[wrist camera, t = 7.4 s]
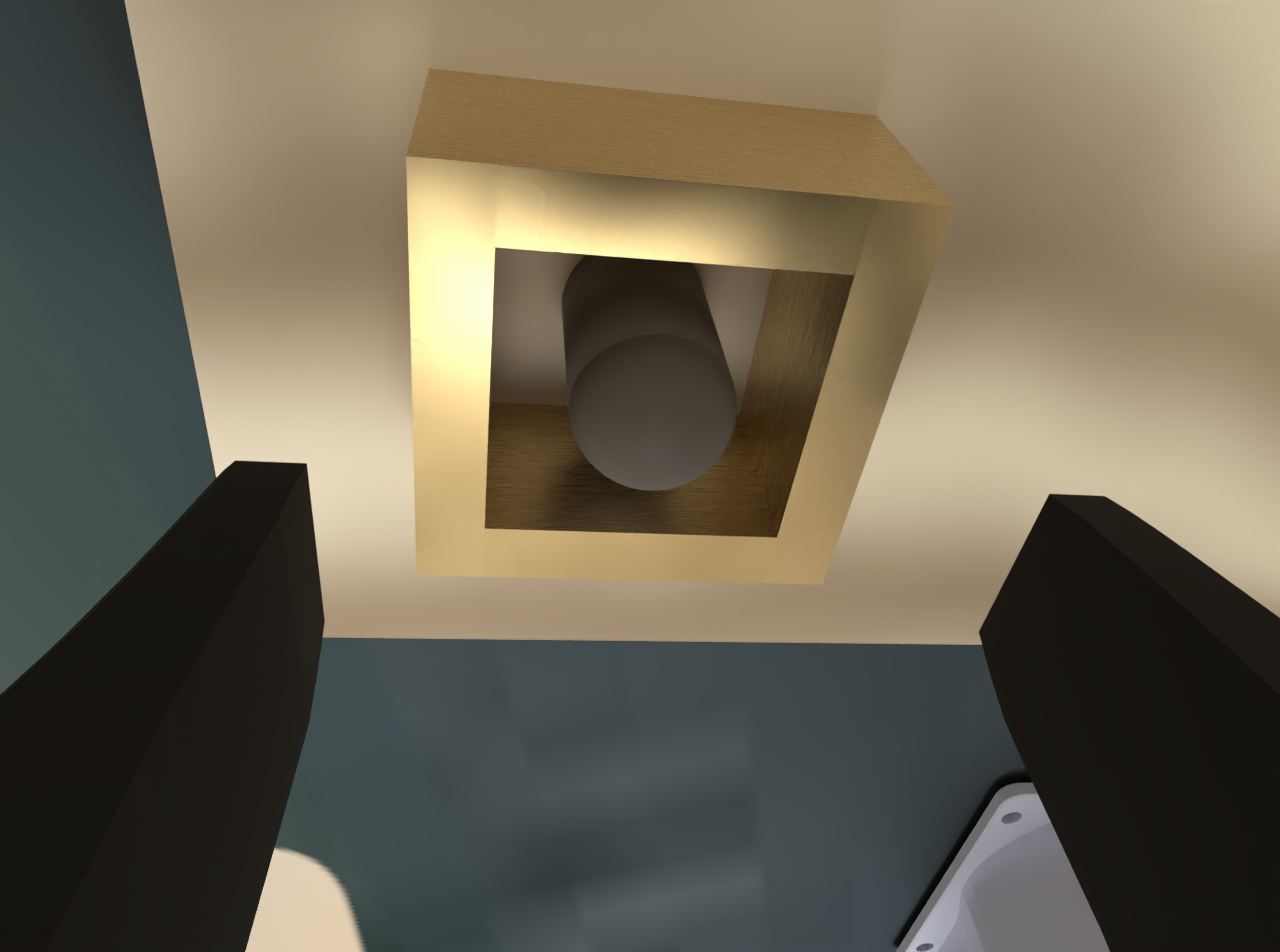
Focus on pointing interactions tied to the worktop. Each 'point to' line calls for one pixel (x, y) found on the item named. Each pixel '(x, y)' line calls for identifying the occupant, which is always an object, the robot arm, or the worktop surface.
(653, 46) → the keeper board
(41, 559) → the worktop surface
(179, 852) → the robot arm
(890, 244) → the brass link
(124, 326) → the worktop surface
